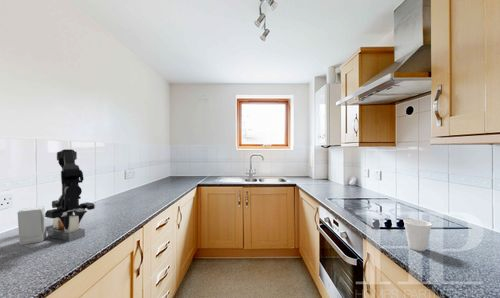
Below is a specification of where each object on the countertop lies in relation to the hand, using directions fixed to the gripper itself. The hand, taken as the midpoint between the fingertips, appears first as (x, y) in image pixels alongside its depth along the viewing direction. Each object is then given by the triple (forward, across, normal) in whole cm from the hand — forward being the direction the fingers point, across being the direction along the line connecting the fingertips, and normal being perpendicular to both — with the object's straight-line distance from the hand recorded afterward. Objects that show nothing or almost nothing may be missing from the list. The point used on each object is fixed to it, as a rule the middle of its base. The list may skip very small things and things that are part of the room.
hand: (71, 228), depth 115 cm
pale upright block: (+2, 0, 0) cm, 2 cm away
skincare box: (+5, +10, -11) cm, 16 cm away
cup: (+4, -50, +145) cm, 153 cm away
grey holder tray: (+4, 0, -4) cm, 6 cm away
